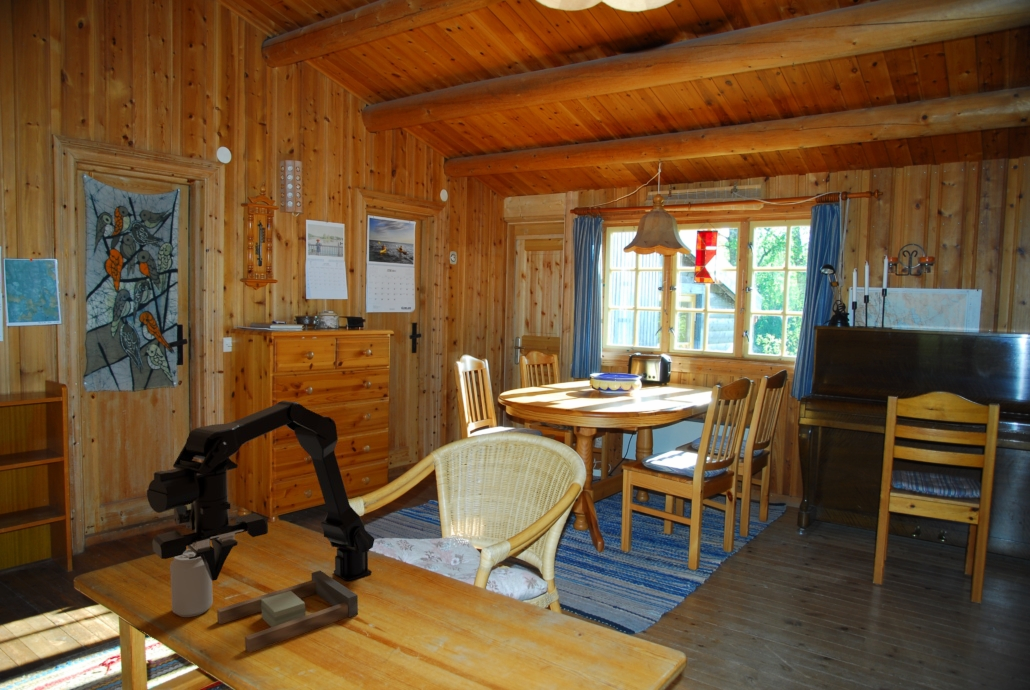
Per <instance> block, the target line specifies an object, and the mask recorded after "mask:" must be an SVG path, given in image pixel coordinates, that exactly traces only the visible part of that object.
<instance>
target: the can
mask: <svg viewBox="0 0 1030 690" xmlns="http://www.w3.org/2000/svg"><path fill="white" fill-rule="evenodd" d="M172 558H173V560H172V561H171V562H170V563H169V569H170V591H171V611H172V612H173V613H174V614H175V615H177V616H179V617H182V618H190V617H191V618H192V617H196V616H200V615H202V614H204V613H206V612H207V611H208V610H209V609H210V608H211V607H212V606H213V602H214V601H213V600H214V599H213V581H212V580H211V578H210V576H209V574H208V572H207V569H206V567H205V565H204V562H203V560H202V558H201V557H200V555H196V554H195V553H194V552H193V551H192V550H190V549H189V548H186V551H185V552H184V553H183V554H182V555H180V556H176V557H172Z"/></svg>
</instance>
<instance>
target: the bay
mask: <svg viewBox="0 0 1030 690" xmlns="http://www.w3.org/2000/svg"><path fill="white" fill-rule="evenodd" d="M288 591H292V592H293V593H294V594H295V595H296V596H297V597H299V598H300V599H303V598H306V597H309V596H313V595H315V594H316V595H317V596H319V597H320V598H322V599H323V600H324V601H325V602H327V603H328V604H330V605H331V606H330V607H327V608H324V609H321V610H318V611H315V612H312V613H309V614H305V616H303V617H300V618H297V619H295V620H292V621H289V622H286V623H283V624H280V625H277V626H274V627H271V626H270V627H268V628H266V629H263V630H260V631H257V632H254V633H251V634H248V635H245V636H244V643H245V644H244V645H245V646H244V647H245V651H246V652H247V653H248V654H249V653H252V652H255V651H258V650H261V649H263V648H267V647H269V646H272V645H275V644H278V643H280V642H283V641H285V640H286V641H287V640H288V639H289V640H290V639H291V638H295V637H297V636H299V635H302V634H304V633H307V632H310V631H313V630H316V629H319V628H321V627H325V626H327V625H330V624H333V623H336V622H338V620H339V621H341V620H344V619H347V618H351V616H352V617H353V616H357V615H359V612H358V611H359V608H358V606H359V602H358V600H359V599H358V596H359V595H358V594H357V593H355V592H353V591H352V590H351V589H349V588H348V587H346V585H345V586H344V585H343V584H342V583H340V582H338V581H337V580H335V579H334V578H332V577H331V576H329V575H328V574H326V573H324V572H323V571H322V570H317V571H314V572H311V580H308V581H305V582H301V583H298V584H295V585H292V586H288V587H285V588H282V589H278V590H275V591H272V592H268V593H266V594H262V595H259V596H256V597H253V598H250V599H246V600H243V601H241V602H236V603H233V604H230V605H227V606H224V607H220V608H218V609H217V610H216V613H217V614H216V617H217V623H218V624H219V625H222V624H223V625H224V624H226V623H228V622H232V621H234V620H235V621H236V620H239V619H241V618H244V617H247V616H251V615H253V614H257V613H260V612H262V608H261V599H264V598H268V597H271V596H274V595H278V594H281V593H284V592H288Z"/></svg>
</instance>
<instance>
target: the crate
mask: <svg viewBox="0 0 1030 690" xmlns="http://www.w3.org/2000/svg"><path fill="white" fill-rule="evenodd" d="M261 608H262V611H261V618H262V620H263V621H265V622H266V623H267V625H268V626H269V627H270V628H271V627H274V626H277V625H280V624H283V623H286V622H289V621H292V620H295V619H297V618H300V617H303V616H306V603H305V601H304V600H302V598H299V597H297V596H296V595H295V594H294V593H293V592H292V591H288V592H284V593H281V594H278V595H274V596H271V597H268V598H264V599H261Z"/></svg>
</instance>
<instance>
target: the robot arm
mask: <svg viewBox="0 0 1030 690" xmlns="http://www.w3.org/2000/svg"><path fill="white" fill-rule="evenodd" d="M284 426H285V427H287V428H288V429H289V430H290V431H293V432H294V435H295V438H297V441H298V444H299V445H300V447H301V448H303V450H304V451H305V452H306V453H307V454H308V456H310V459H311V461H312V465H313V468H314V471H315V474H316V478H317V481H318V484H319V488H320V491H321V494H322V498H323V500H324V505H325V508H326V511H327V514H326V517H325V518H324V520H323V521H321V522H320V526H321V528H322V530H323V538H325V539H327V540H328V541H329V543H330V546H331V547H332V548H336V555H335V556H334V570H333V574H335V575H336V576H338V577H339V578H341V579H343V580H345V582H349V581H352V580H357V579H359V578H362V577H365V576H368V575H371V574H372V573H373V571H372V570H371V569H369V566H368V565H369V555H368V554H369V552H370V550H371V549H372V548H374V542H375V537H373V536H372V534H370V533H369V532H368V531H367V530H366V528H365V525H364V522H363V520H362V518H361V516H360V515H359V514H358V513H357V512H356V511H355V510H354V508H353V507H352V506H351V504H350V501H349V498H348V494H347V491H346V487H345V484H344V480H343V477H342V473H341V469H340V466H339V463H338V459H337V457H336V456H337V455H336V452H335V450H336V447H337V443H338V441H339V440H338V439H339V438H338V430H337V424H336V422H335V420H334V419H333V418H331V417H329V416H323V415H321V414H319V413H317V412H315V411H312V410H310V409H308V408H307V407H305V406H303V405H302V404H301V403H299V402H297V401H289V400H281V401H279V402H277V403H276V404H274V405H271V406H269V407H267V408H264V409H261V410H259V411H257V412H256V411H255V412H254V413H252V414H250V415H245V416H244V417H242V418H239V419H236V420H234V421H232V422H227V423H217V424H210V425H204V426H198V427H196V428H194V429H192V430H191V431H190V432H189V433H188V436H187V438H186V441H185V444H184V445H183V447H182V449H181V450H180V452H179V455H178V456H177V458H176V460H175V461H174V463H173V465H172V469H167V470H160V471H155V472H153V479H152V480H151V481H150V483H149V485H148V487H147V488H148V489H147V490H146V498H147V501H148V504H149V507H150V508H151V509H152V510H153V512H156V513H158V514H162V513H164V512H168V511H171V510H173V515H174V516H173V518H174V524H175V525H177V526H179V525H182V524H183V525H184V524H185V528H186V529H188V528H189V529H190V531H194V532H191V533H188V534H183V535H182V534H181V533H180V532H179V531H178V530H173V531H168V532H163V533H159V534H156V535H155V536H154V537H153V539H152V552H154V553H155V555H157V556H158V557H159V558H160V559H163V560H168V559H171V558H173V557H176V556H180V555H182V554H183V553H184V552H185V551H186V550H187V549H190V550H192V551H193V552H194V553H195V554H196V555H200V557H201V558H202V560H203V562H204V565H205V567H206V569H207V572H208V574H209V576H210V578H211V580H212V582H214V581H217V580H218V578H219V575H220V573H221V571H222V569H223V566H224V564H225V562H226V561H227V558H228V556H229V554H230V553H231V551H232V549H233V548H234V547H236V546H238V541H237V540H235V536H236V534H241V533H245V532H246V533H247V535H249V536H251V537H252V538H255V537H259V536H263V535H268V533H269V525H268V522H267V520H266V519H265V518H264V517H262V516H260V515H259V514H257V513H256V512H254V513H253V512H252V513H247V514H244V515H239V516H237V517H236V519H235V523H230V520H229V518H230V517H229V510H230V509H231V502H229V496H228V495H229V492H228V491H229V490H228V471H230V470H235V469H237V468H238V465H239V464H238V463H236V462H234V461H233V460H231V458H230V457H232V456H233V455H235V454H236V453H237V452H239V450H240V449H241V447H242V446H243V445H245V444H247V443H248V442H251V441H252V440H255V439H257V438H259V437H262V436H264V435H266V434H269V433H270V432H272V431H275V430H277V429H280V428H282V427H284ZM194 459H196V460H197V461H196V460H194ZM198 460H201V461H202V462H201V461H198ZM188 505H191V509H189V508H188V507H187V506H188ZM211 545H212V546H211ZM187 547H188V548H187Z"/></svg>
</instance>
